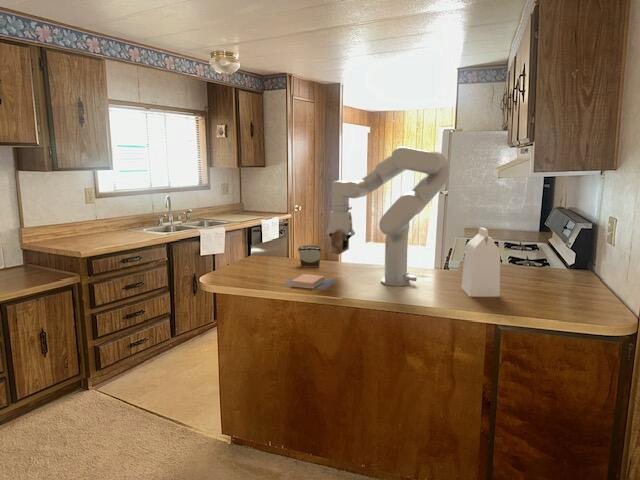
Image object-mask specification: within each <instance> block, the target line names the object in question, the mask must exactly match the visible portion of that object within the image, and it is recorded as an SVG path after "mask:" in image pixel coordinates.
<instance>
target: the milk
mask: <svg viewBox="0 0 640 480" xmlns="http://www.w3.org/2000/svg"><path fill="white" fill-rule="evenodd" d="M488 230H489V229H487V228H485V227H478V232H477V234H476V235H475V236H474V237H472V238H471V239H470V240H469V241H468V242H467V243H466V244H465V248H464V260H463V267H462V278H461V290H463V291H464V292H465V293H466V295H468V296H469V298H470V297H481V298H482V297H486V298H487V297H491V298H492V297H494V298H495V297H496V298H497V297H500V294H501V293H500V292H501V291H500V288H501V287H500V286H501V285H500V284H501V281H500V280H501V249H500V247H499V246H498V245H497V244H496V243H495V240H494V239H493V238H492V237H491V236H489V233H488V232H489V231H488Z"/></svg>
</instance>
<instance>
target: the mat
mask: <svg viewBox="0 0 640 480" xmlns="http://www.w3.org/2000/svg"><path fill="white" fill-rule="evenodd" d="M301 275H302V274H300V275H299V274H298V275H296V276H295V277H293V278H292V279H289V280H287V281H286V282H284V283H283V284H282V286H287V287H293V286H292V280H294V279H296V278H297V277H299V276H301ZM339 280H340V279H338V278H329V277H328V278H327V277H324V282H323V283H321V284H320V285H318V286H316V287H315V288H313V289H315V290H322V291H323V290H326V289H328V288H329V287H331V286H332V285H334V284H335V283H337V282H338V281H339Z"/></svg>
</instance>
